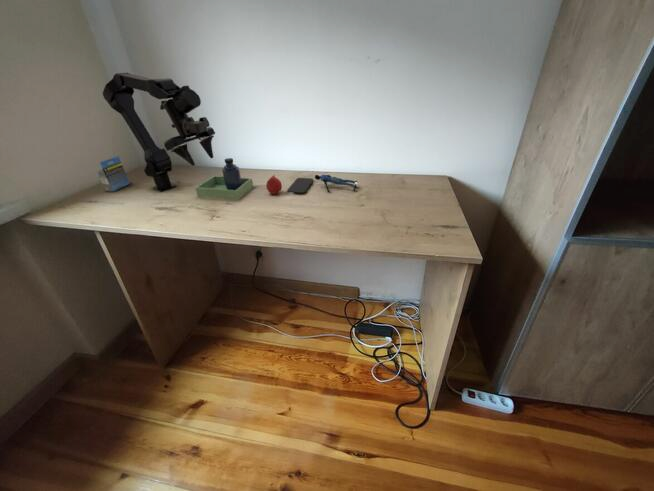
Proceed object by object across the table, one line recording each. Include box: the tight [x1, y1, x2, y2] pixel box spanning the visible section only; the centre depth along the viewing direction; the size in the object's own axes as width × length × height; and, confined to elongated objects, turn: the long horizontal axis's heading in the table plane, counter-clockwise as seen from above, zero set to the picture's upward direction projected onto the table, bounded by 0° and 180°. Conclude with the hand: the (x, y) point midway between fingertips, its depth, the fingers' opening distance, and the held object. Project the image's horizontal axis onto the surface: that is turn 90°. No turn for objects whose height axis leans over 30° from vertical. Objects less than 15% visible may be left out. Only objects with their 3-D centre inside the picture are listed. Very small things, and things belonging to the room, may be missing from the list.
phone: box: [286, 177, 314, 195], centre depth 122 cm, size 7×1×15 cm
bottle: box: [221, 157, 242, 190], centre depth 114 cm, size 6×6×13 cm
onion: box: [265, 174, 283, 196], centre depth 113 cm, size 6×6×8 cm
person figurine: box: [314, 174, 359, 193], centre depth 119 cm, size 11×4×18 cm
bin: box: [194, 175, 254, 201], centre depth 117 cm, size 17×13×4 cm
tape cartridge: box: [97, 155, 131, 193], centre depth 122 cm, size 9×4×12 cm, turn 164°
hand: (203, 161), depth 108 cm, fingers open, 9 cm apart
